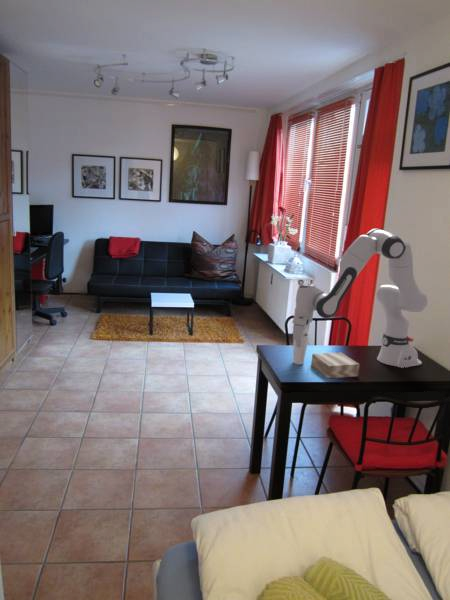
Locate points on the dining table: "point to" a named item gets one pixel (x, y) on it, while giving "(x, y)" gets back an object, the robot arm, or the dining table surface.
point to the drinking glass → (300, 351)
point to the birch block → (335, 365)
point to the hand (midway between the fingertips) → (300, 344)
